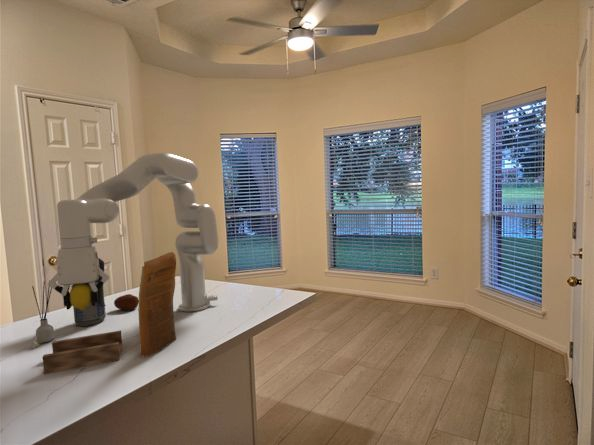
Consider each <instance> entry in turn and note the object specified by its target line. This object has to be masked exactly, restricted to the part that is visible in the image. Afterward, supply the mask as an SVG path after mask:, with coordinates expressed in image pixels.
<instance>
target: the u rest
mask: <svg viewBox="0 0 594 445" xmlns="http://www.w3.org/2000/svg"><path fill="white" fill-rule="evenodd" d="M122 335H123V334H122V330H115V331H110V332H104V333H97V334H91V335H85V336H79V337H78V336H77V337H72V338H66V339H60V340H54V341H52V342H51V350H52V353H47V354H43V355H42V356H41V357H42V368H43V375H47V374H52V373H58V372H62V371H63V372H64V371H69V370H73V369H79V368H85V367H91V366H95V365H101V364H105V363H110V362H116V361H120V359H121V354H122V350H123V349H122V348H123V336H122Z"/></svg>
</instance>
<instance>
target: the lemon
mask: <svg viewBox="0 0 594 445" xmlns="http://www.w3.org/2000/svg"><path fill="white" fill-rule="evenodd" d="M69 293H70V302H71V304H72V308H73V307H75V308H78V309H80V310H84V309H85V307H87V306H88V305H89V304H90V303H91V301H92V300H91V289H90V287H89V286H87V285H85V284H77V285H75V286H74V287H73V288H72V287H71V289H70V290H69Z"/></svg>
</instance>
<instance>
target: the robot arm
mask: <svg viewBox="0 0 594 445" xmlns="http://www.w3.org/2000/svg"><path fill="white" fill-rule="evenodd" d="M198 177H199V169H198V166H197V165H196V164H195V162H193V161H192V160H190V159H187V158H184V157H181V156H178V155H175V154H172V153H168V152H157V153H155V152H154V153H148V154H143V155H141V156H139V157H138V158H137V159H135V161H133V162H132V163H131V164H129V165H128V166H127V167H126V168H125V169H123V171H120V172H119V173H118V174H117V175H115V176H112V177H110V178H108V179H107V180H104V181H102V182H100V183H99V184H96V185H94V186H93V187H91V188H90V189H87V191H85V192H84V193H83V194H81V195H80V196H79V197H77V198H75V199H63V200H60V201H58V203H57V204H56V209H57V210H56V211H57V219H58V220H57V221H58V231H59V233H58V234H59V243H60V244H59V245H60V249H58V251H57V258H56V273H55V275H54V276H53V277H52V278H51V279H50V282H49V281H48V283H47V286H48V287H49V286H50V287H49V288H50V289H51V288H52V290H55V291H56V292H57V293H59V294H61V296H62V299H63V306H64V307H66V310H67V311H68V310H70V309H71V308H73V306H72V304H71V302H70V288H71V286H72V285H73V284H82V283H89V284H90V286H91V288H92V292H91V300H92V306H95V305H96V302H98V289H99V288H100V287H101V286H102V285H103V286H104V284H105V283H107V281H108V280H109V279H110V275H109V274H107V273H106V272H105V270H104V271H102V270H101V269H100V267H99V260H98V258H99V255H98V251H97V248H96V246H93V244H95V243H98V238H97V237H93V236H92V230H91V224H107V223H111V222H113V221H114V220H116V219H117V217H118V216H119V214H120V209H119V204H117V203H116V202H119V201H124V200H126V199H130V198H132V197H135V196H137V195H138V194H140V193H141V192H142V191H143V190H144V189H145V188H146V187H147V186H148V185H149V184H150V183H151V182H153V181H154V180H155V179H157V180H158V181H159V182H160V183H161V184H162V185H163V186H165V187H166V188H167V189H168V190H169V191H170V193H171V196H172V202H173V207H174V214H175V215H174V216H175V221H176V224H177V225H178V226H179V227H180V228H185V229H198V230H185V231H182V232H180V233H179V234H178V235H177V236H176V238H175V242H174V243H175V244H174V245H175V248H176V252H177V257H178V264H179V276H180V290H181V291H180V293H181V303H180V304H179V305H178V306H177V307H178V308H177V309H178V310H179V311H180V312H198V311H202V310H205V309H208V308H209V307H210V306H211V302H212V301H213V302H214V301H218V296H217V295H213V294H212V295H207V294H206V283H205V282H206V279H205V265H204V260H203V258H202V257H201V255H202V256H205V255H206V256H210V255H213V254H215V253H216V252H217V250H218V248H219V234H218V226H217V217H216V214H215V210H214V208H212V207H211V206H210V205H209V204H206V203H197V200H196V194H195V190H194V188H193V186H192V185H191V184H192V183H194V182H195V181H197V179H198ZM100 276H101V277H102V280H101V281H100V282H99V283H98V284H97V283H96V281H97V280H98V278H99V277H100Z"/></svg>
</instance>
